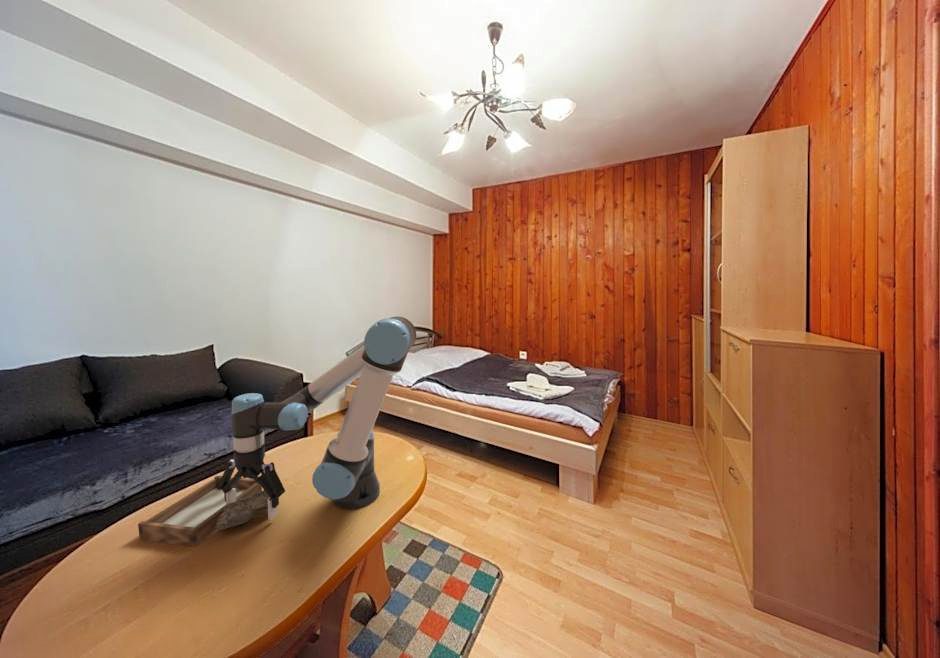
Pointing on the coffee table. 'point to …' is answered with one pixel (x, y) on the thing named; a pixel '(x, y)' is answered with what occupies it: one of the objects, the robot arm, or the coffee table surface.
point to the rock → (243, 510)
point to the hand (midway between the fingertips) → (252, 513)
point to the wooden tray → (193, 514)
